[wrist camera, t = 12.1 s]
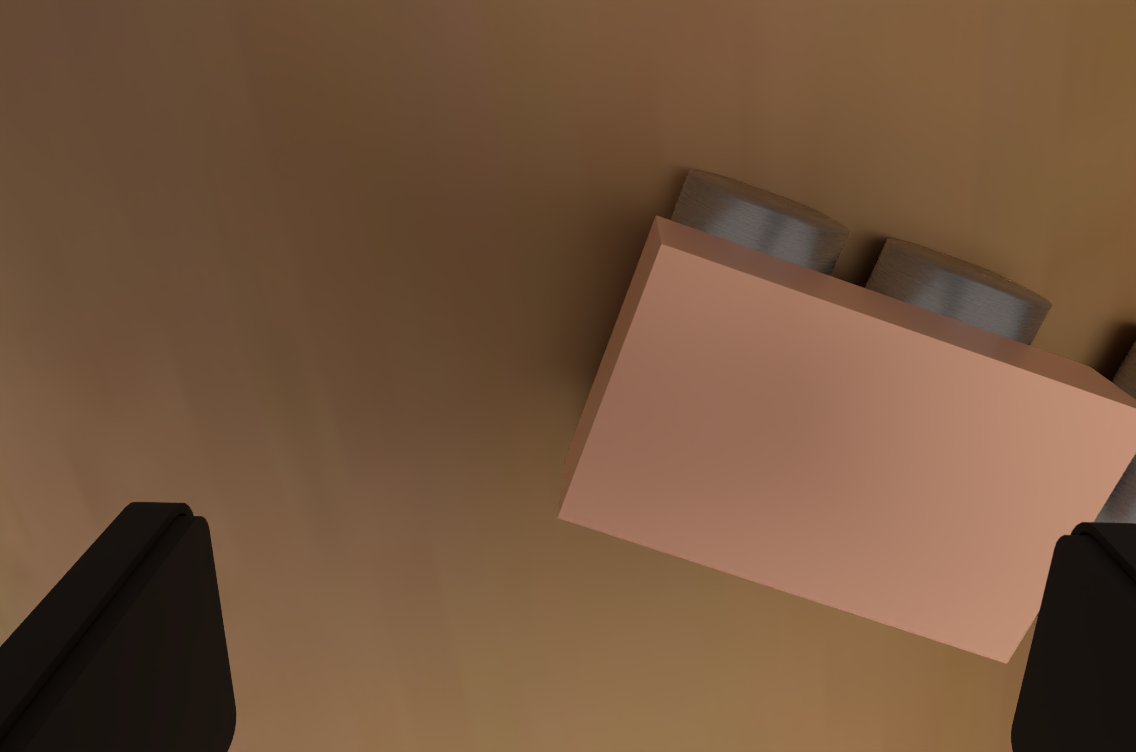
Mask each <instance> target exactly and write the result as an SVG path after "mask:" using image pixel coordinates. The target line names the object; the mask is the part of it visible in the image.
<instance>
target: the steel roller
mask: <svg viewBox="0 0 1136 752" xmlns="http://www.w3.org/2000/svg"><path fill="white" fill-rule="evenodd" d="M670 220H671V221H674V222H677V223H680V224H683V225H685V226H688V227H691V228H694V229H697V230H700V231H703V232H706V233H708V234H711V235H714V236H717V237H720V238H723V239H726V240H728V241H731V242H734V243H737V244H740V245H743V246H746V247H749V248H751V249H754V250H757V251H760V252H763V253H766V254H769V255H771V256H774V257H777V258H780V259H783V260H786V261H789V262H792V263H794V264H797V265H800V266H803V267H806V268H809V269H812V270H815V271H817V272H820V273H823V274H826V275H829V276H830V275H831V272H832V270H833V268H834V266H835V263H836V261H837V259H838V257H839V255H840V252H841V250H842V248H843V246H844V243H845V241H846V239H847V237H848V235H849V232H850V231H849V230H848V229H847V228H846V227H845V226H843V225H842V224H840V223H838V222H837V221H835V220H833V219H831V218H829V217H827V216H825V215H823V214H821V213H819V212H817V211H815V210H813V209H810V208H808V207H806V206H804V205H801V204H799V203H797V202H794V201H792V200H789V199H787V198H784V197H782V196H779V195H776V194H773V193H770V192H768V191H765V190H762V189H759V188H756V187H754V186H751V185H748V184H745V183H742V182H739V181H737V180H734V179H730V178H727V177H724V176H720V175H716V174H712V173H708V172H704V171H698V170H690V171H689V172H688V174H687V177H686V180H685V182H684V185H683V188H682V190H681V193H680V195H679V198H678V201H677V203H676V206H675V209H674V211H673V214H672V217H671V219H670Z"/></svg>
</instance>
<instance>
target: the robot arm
mask: <svg viewBox="0 0 1136 752" xmlns="http://www.w3.org/2000/svg"><path fill="white" fill-rule="evenodd" d="M235 725H236V706H235V699H234V692H233V685H232V679H231V672H230V665H229V658H228V652H227V645H226V638H225V631H224V625H223V618H222V611H221V604H220V598H219V591H218V584H217V577H216V571H215V564H214V557H213V550H212V544H211V537H210V530H209V526H208V523H207V521H206V519H205V518H204V517H202V516H193V512H192V510H191V509H190V507H189V506H188V505H187V504H185V503H160V502H132V503H130V504H129V505H128V506H126V507H125V508H124V509H123V511H122V512H121V513H120V514H119V515H118V516H117V517H116V518H115V520H114V521H113V522H112V523H111V524H110V525H109V526H108V527H107V528H106V530H105V531H104V532H103V533H102V534H101V535H100V536H99V537H98V538H97V540H96V541H95V542H94V543H93V544H92V545H91V546H90V547H89V549H88V550H87V551H86V552H85V553H84V554H83V555H82V556H81V557H80V559H79V560H78V561H77V562H76V563H75V564H74V565H73V566H72V568H71V569H70V570H69V571H68V572H67V573H66V574H65V575H64V576H63V578H62V579H61V580H60V581H59V582H58V583H57V584H56V585H55V586H54V588H53V589H52V590H51V591H50V592H49V593H48V594H47V595H46V597H45V598H44V599H43V600H42V601H41V602H40V603H39V604H38V605H37V607H36V608H35V609H34V610H33V611H32V612H31V613H30V614H29V615H28V617H27V618H26V619H25V620H24V621H23V622H22V623H21V624H20V626H19V627H18V628H17V629H16V630H15V631H14V632H13V633H12V634H11V636H10V637H9V638H8V639H7V640H6V641H5V642H4V643H3V645H2V646H1V647H0V752H227V751H228V749H229V747H230V745H231V742H232V739H233V735H234V731H235ZM1011 743H1012V749H1013V752H1136V524H1135V523H1105V522H1081V523H1079V524H1078V525H1076V526H1075V528H1074V529H1073V530H1072V532H1071V535H1063V536H1061V537H1060V538H1059V539H1058V541H1057V542H1056V545H1055V548H1054V552H1053V556H1052V560H1051V564H1050V568H1049V573H1048V577H1047V581H1046V585H1045V589H1044V594H1043V598H1042V602H1041V606H1040V611H1039V615H1038V619H1037V623H1036V627H1035V632H1034V636H1033V640H1032V644H1031V648H1030V653H1029V657H1028V661H1027V665H1026V670H1025V674H1024V678H1023V682H1022V686H1021V691H1020V695H1019V699H1018V703H1017V707H1016V712H1015V716H1014V720H1013V724H1012V731H1011Z"/></svg>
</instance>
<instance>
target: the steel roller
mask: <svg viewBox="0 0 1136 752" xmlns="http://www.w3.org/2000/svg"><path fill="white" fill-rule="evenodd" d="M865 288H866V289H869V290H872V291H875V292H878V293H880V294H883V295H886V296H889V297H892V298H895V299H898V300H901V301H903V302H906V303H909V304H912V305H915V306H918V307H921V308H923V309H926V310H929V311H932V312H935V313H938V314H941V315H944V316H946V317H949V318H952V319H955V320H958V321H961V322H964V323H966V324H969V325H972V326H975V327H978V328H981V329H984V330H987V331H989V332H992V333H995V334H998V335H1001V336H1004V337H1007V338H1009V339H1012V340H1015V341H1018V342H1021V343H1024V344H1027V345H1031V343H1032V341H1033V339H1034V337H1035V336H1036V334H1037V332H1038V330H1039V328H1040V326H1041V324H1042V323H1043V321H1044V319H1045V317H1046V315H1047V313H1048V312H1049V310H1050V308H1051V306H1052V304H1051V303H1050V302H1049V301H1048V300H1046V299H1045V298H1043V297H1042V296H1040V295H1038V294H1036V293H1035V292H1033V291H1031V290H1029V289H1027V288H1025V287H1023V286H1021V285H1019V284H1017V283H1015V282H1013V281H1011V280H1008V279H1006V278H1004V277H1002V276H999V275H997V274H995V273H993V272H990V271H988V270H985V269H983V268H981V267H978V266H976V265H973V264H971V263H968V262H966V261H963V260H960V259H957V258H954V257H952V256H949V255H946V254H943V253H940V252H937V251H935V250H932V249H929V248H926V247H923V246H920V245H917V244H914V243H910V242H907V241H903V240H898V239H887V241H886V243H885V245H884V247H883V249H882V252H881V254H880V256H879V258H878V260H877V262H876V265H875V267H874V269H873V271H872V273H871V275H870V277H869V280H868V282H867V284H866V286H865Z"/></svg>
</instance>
